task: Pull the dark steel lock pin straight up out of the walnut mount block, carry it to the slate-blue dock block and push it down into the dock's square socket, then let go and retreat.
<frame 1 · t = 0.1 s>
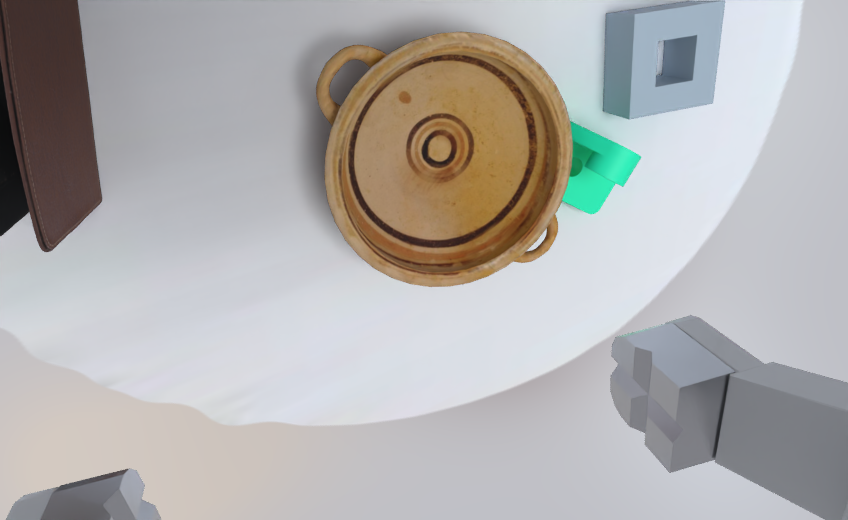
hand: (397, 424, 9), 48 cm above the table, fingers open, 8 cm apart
letter holder: (25, 88, 46), on the table
dock: (645, 57, 59), on the table
ceramic bowl: (432, 151, 58), on the table
camera mount: (561, 160, 62), on the table
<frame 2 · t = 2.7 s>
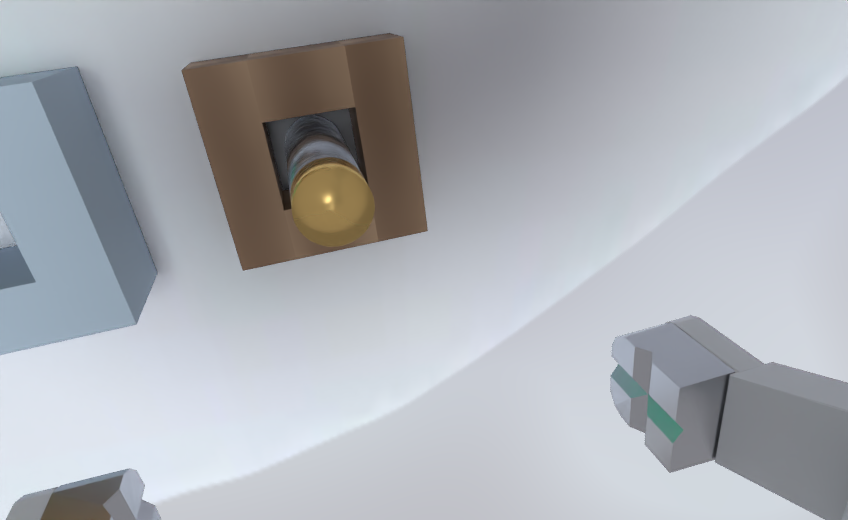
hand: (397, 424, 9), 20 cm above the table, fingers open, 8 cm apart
lock pin: (322, 170, 23), in the pin mount
dock: (3, 200, 24), on the table
pin mount: (313, 144, 27), on the table
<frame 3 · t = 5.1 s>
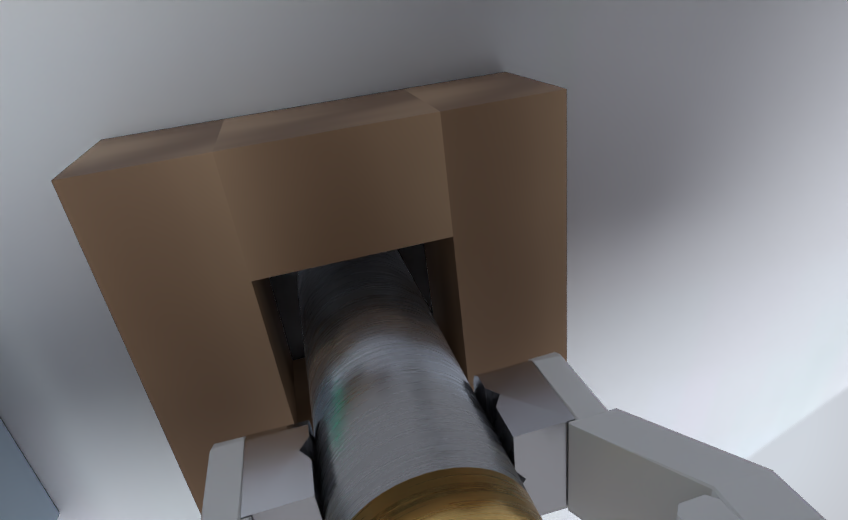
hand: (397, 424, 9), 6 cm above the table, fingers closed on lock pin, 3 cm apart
lock pin: (388, 394, 10), in the pin mount, touching gripper
pin mount: (352, 279, 14), on the table
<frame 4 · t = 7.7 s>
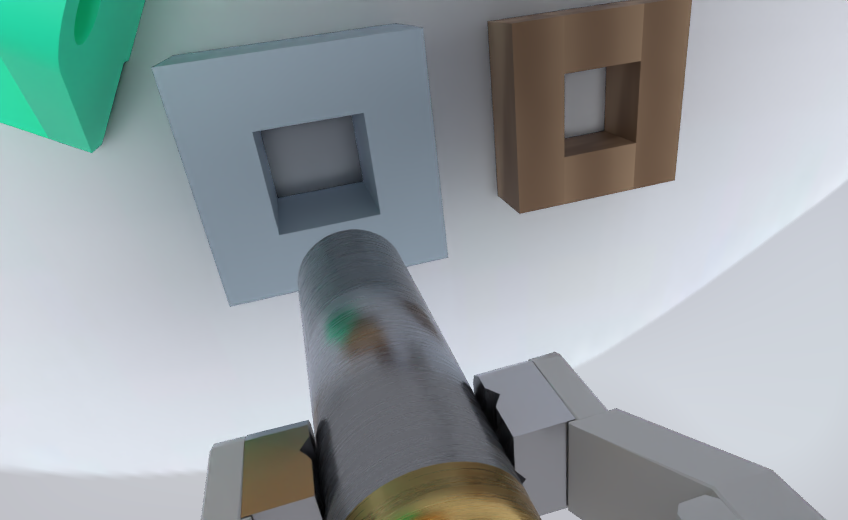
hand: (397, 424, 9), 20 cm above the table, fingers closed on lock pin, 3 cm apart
lock pin: (387, 391, 10), point 19 cm above the table, touching gripper
dock: (311, 147, 27), on the table
pin mount: (571, 100, 29), on the table
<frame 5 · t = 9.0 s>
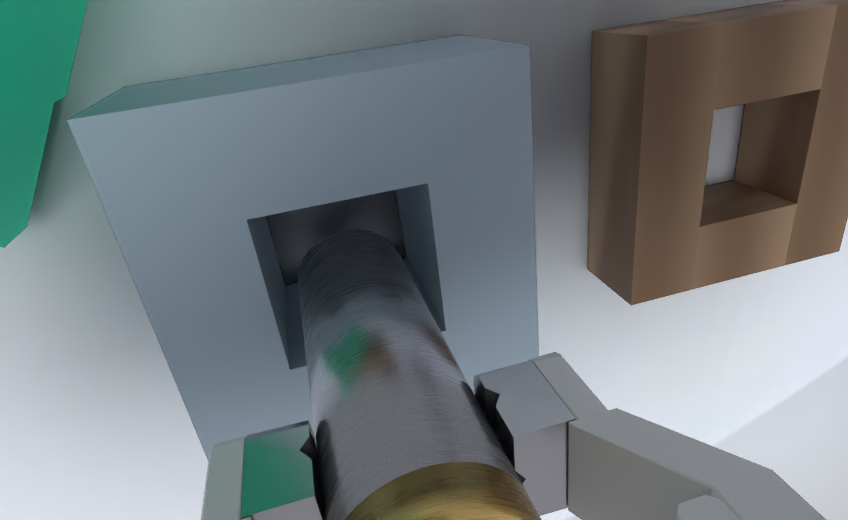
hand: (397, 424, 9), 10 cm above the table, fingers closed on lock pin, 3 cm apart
lock pin: (387, 391, 10), point 10 cm above the table, touching gripper
dock: (334, 214, 18), on the table
pin mount: (696, 140, 21), on the table
when the fingers open (7 cm above the table, at t = 10.3 s): lock pin drops 1 cm, resting in dock.
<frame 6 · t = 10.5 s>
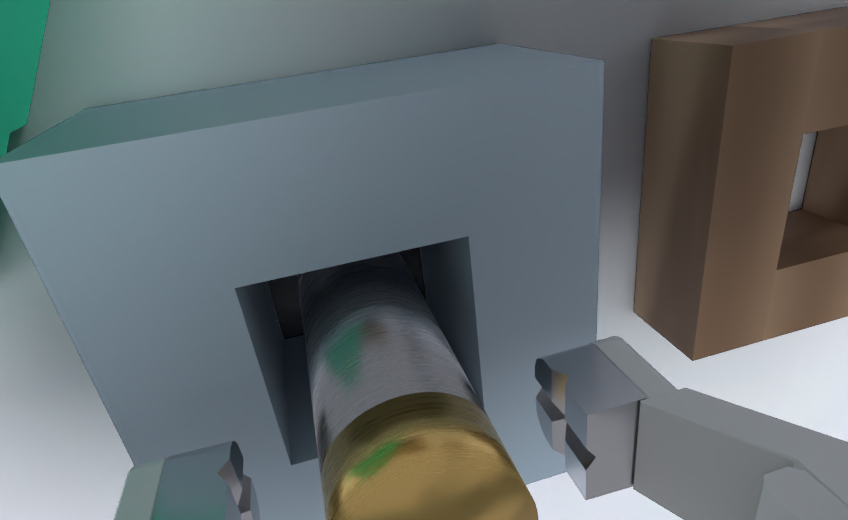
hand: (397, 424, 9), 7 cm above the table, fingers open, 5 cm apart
lock pin: (375, 349, 11), in the dock
dock: (343, 257, 15), on the table
pin mount: (763, 164, 18), on the table
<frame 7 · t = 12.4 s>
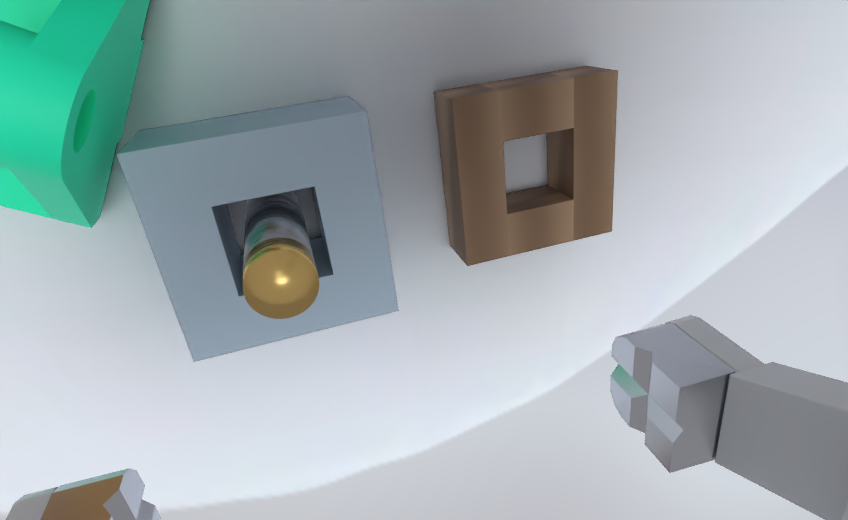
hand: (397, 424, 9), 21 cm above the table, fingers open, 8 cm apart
lock pin: (276, 240, 25), in the dock
dock: (272, 208, 29), on the table
pin mount: (516, 158, 32), on the table
camera mount: (38, 58, 24), on the table
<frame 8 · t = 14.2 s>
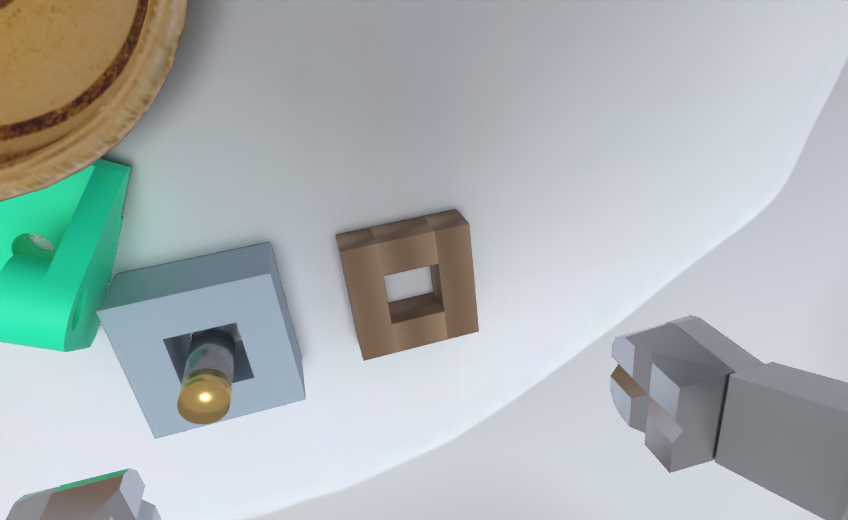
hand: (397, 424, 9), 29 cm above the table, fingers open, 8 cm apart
lock pin: (211, 356, 35), in the dock
dock: (216, 319, 39), on the table
pin mount: (405, 275, 41), on the table
camera mount: (50, 232, 34), on the table
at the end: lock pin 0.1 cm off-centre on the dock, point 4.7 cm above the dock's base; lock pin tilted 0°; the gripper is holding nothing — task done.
